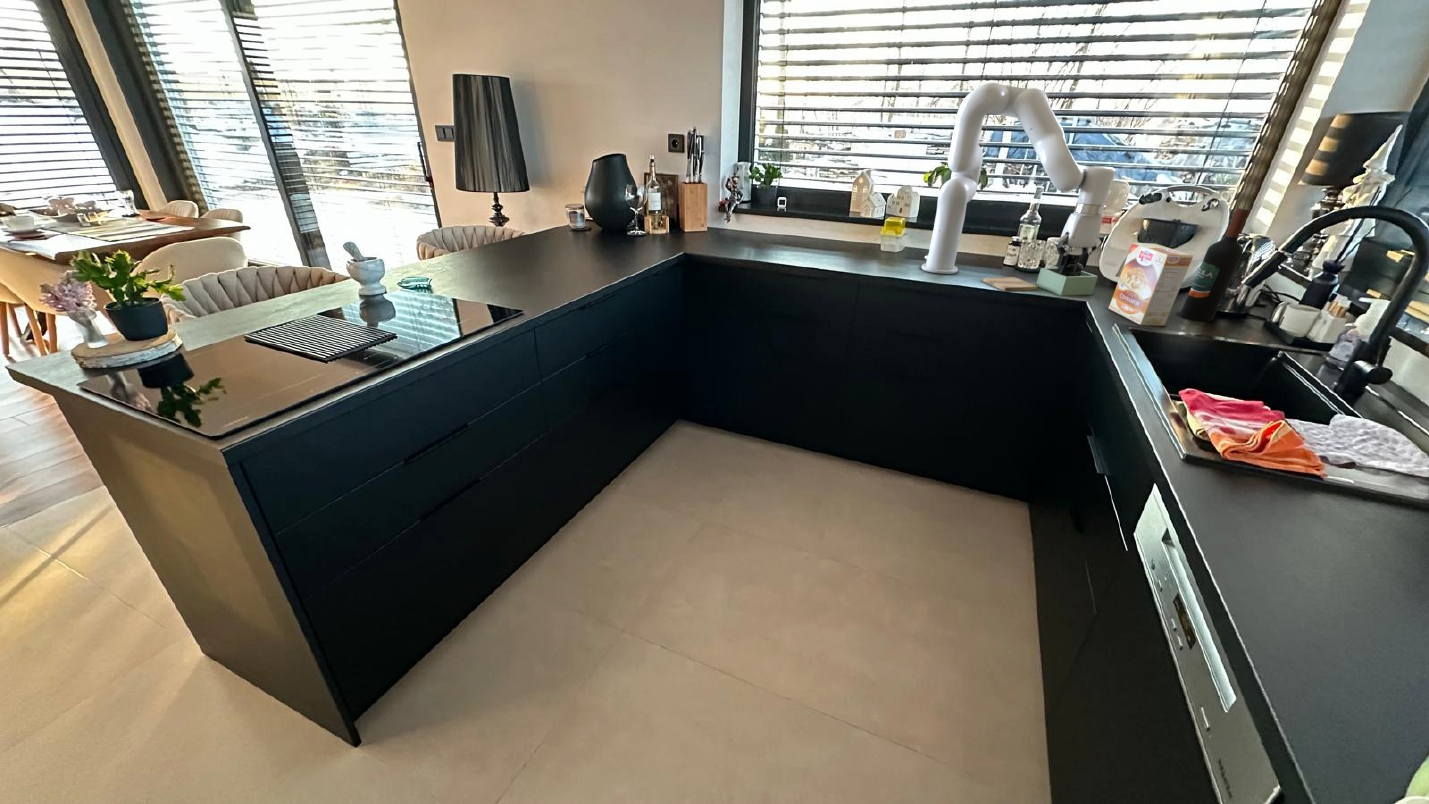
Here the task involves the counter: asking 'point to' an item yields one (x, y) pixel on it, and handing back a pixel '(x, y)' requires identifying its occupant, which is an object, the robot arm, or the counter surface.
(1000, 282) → the cork board
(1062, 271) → the supplement bottle
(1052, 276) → the box
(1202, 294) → the wine bottle
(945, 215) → the robot arm
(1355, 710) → the counter surface
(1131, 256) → the coffeecake box
